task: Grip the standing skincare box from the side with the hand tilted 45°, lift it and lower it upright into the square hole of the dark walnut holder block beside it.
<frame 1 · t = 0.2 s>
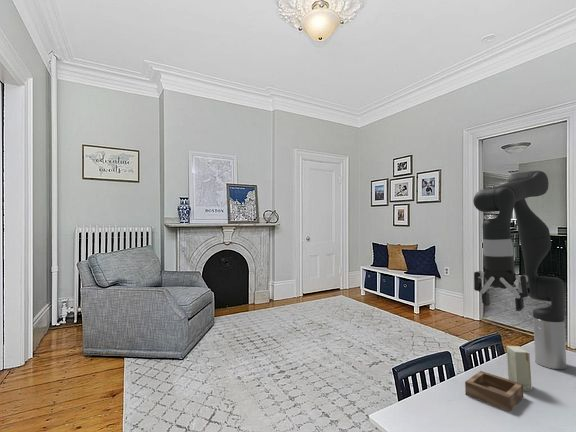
hand: (502, 308, 94), 29 cm above the table, tool pointing down, fingers open, 8 cm apart
skincare box: (519, 386, 104), on the table
holder block: (494, 395, 98), on the table
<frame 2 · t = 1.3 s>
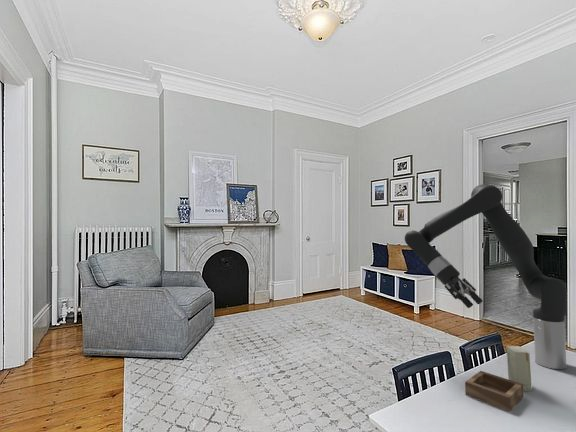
hand: (476, 304, 114), 25 cm above the table, tool tilted 45°, fingers open, 8 cm apart
nothing on the table moved.
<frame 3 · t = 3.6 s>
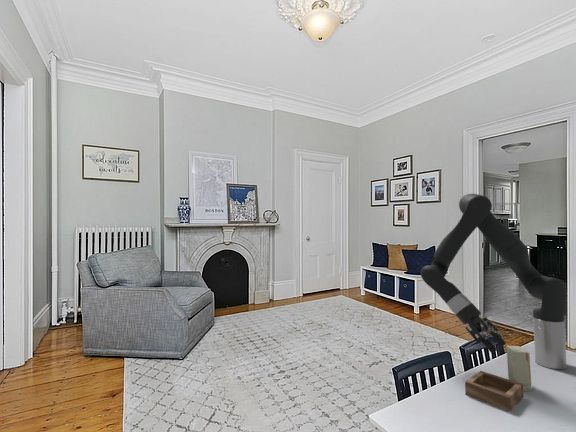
hand: (499, 348, 109), 11 cm above the table, tool tilted 45°, fingers open, 8 cm apart
nothing on the table moved.
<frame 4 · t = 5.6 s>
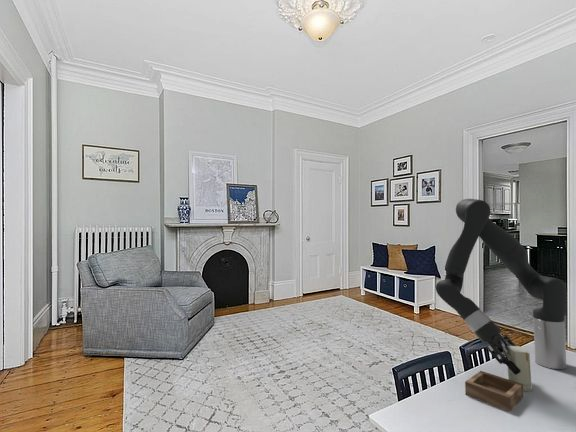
hand: (522, 369, 103), 6 cm above the table, tool tilted 45°, fingers closed on skincare box, 7 cm apart
skincare box: (519, 386, 104), on the table, touching gripper
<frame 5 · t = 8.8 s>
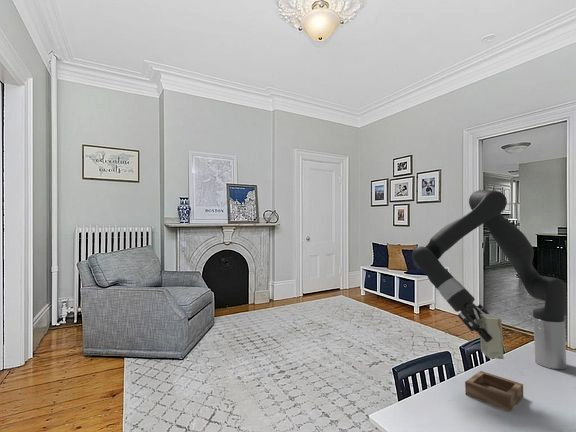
hand: (494, 337, 98), 18 cm above the table, tool tilted 45°, fingers closed on skincare box, 7 cm apart
skincare box: (491, 355, 99), point 12 cm above the table, touching gripper
when the fingers open (8 cm above the table, at t = 11.9 s): skincare box drops 1 cm, resting on holder block.
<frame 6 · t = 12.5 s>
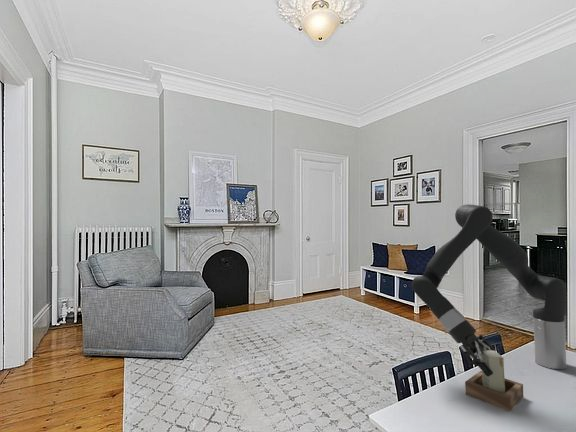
hand: (496, 371, 98), 8 cm above the table, tool tilted 45°, fingers open, 8 cm apart
skincare box: (493, 393, 99), point 1 cm above the table, touching gripper, holder block
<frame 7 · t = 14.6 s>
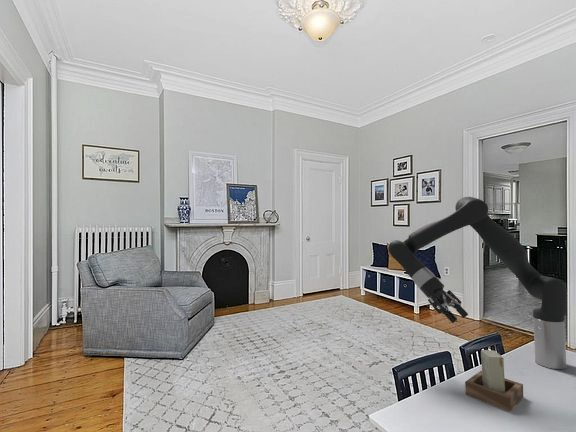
hand: (460, 318, 110), 21 cm above the table, tool tilted 45°, fingers open, 8 cm apart
skincare box: (493, 393, 99), point 1 cm above the table, touching holder block
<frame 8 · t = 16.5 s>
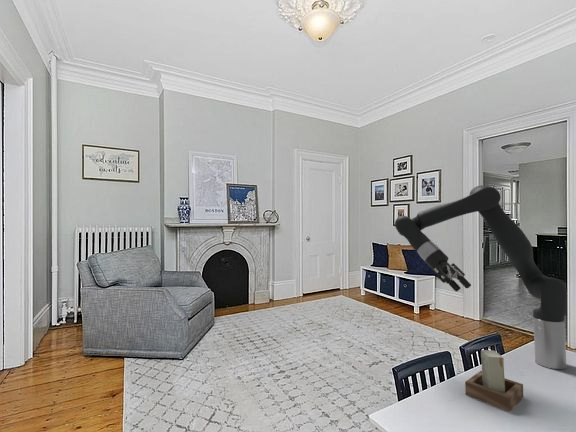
hand: (464, 288, 114), 31 cm above the table, tool tilted 45°, fingers open, 8 cm apart
nothing on the table moved.
at the end: skincare box 0.4 cm off-centre on the holder block, point 0.6 cm above the holder block's base; skincare box tilted 0°; the gripper is holding nothing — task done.
